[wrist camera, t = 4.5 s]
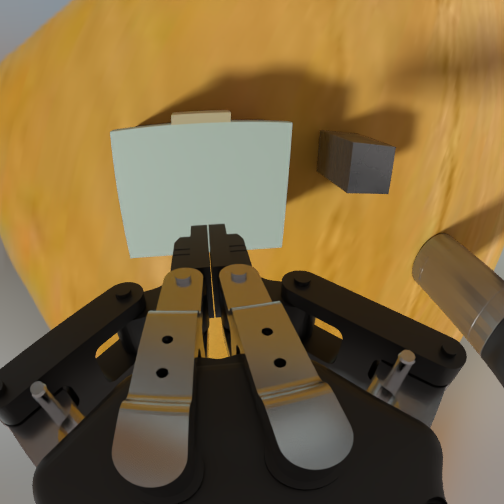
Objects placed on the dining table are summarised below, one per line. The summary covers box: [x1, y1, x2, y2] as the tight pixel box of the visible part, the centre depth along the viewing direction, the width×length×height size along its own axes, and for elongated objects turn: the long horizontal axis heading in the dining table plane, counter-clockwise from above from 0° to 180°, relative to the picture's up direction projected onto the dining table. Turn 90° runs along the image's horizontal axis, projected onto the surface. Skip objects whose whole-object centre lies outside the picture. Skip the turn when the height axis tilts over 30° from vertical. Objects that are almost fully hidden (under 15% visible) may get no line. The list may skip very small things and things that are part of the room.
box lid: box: [110, 110, 293, 258], centre depth 22 cm, size 13×11×2 cm
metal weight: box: [317, 130, 396, 194], centre depth 26 cm, size 4×4×7 cm
